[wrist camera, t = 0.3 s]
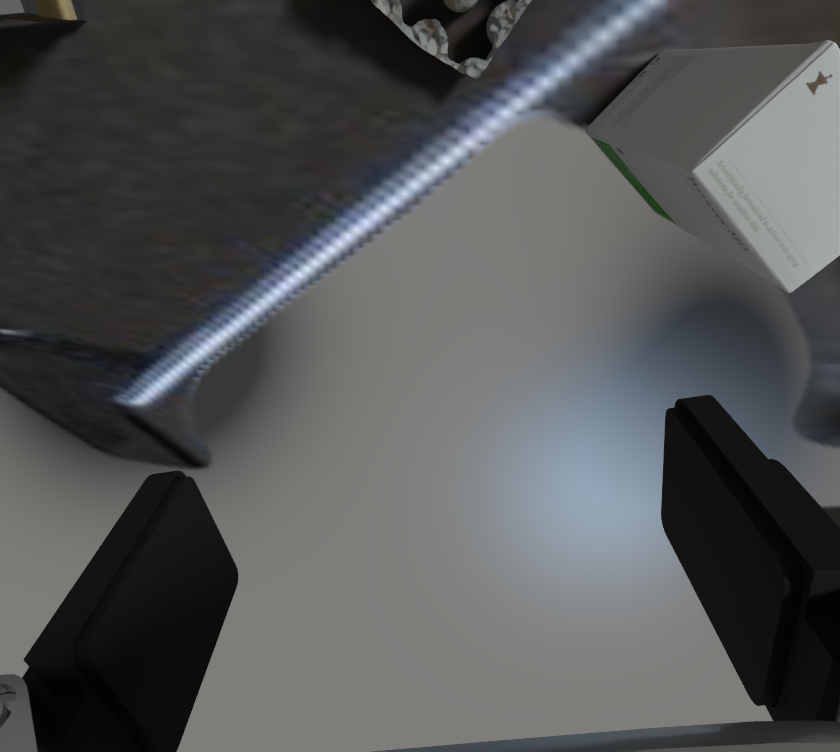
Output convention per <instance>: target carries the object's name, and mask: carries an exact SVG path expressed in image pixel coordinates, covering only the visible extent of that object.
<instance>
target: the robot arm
mask: <svg viewBox="0 0 840 752" xmlns="http://www.w3.org/2000/svg"><path fill="white" fill-rule="evenodd" d="M661 518H662V524H663V528H664V531H665V533H666V535H667V537H668V539H669V541H670V543H671V545H672V547H673V549H674V551H675V553H676V555H677V557H678V559H679V561H680V563H681V564H682V567H683V569H684V570H685V572H686V574H687V576H688V578H689V580H690V582H691V584H692V586H693V588H694V590H695V592H696V594H697V596H698V598H699V600H700V601H701V604H702V606H703V607H704V609H705V611H706V613H707V615H708V617H709V619H710V621H711V623H712V625H713V627H714V629H715V631H716V633H717V635H718V637H719V639H720V641H721V642H722V644H723V646H724V648H725V650H726V652H727V654H728V656H729V658H730V660H731V662H732V664H733V666H734V668H735V670H736V672H737V674H738V676H739V677H740V680H741V681H742V683H743V685H744V687H745V689H746V691H747V693H748V695H749V697H750V698H751V700H752V701H753V702H754V704H756V705H757V706H761V705H765V706H766V708H767V710H768V711H769V713H770V715H771V717H772V719H773V721H760V722H759V721H755V722H740V723H724V724H709V725H693V726H678V727H664V728H663V727H662V728H647V729H635V730H622V731H610V732H598V733H586V734H574V735H562V736H550V737H539V738H525V739H514V740H501V741H489V742H479V743H466V744H454V745H443V746H432V747H420V748H409V749H397V750H386V751H375V752H840V528H839V526H838V525H837V524H836V523H835V522H834V521H833V520H832V519H831V518H830V516H829V515H828V514H827V513H826V512H825V511H824V510H823V509H822V508H821V506H820V505H819V504H818V503H817V502H816V501H815V500H814V499H813V497H811V495H810V494H809V493H808V492H807V491H806V490H805V489H804V487H803V486H802V485H801V484H800V483H799V482H798V481H797V480H796V479H795V478H794V476H793V475H792V474H791V473H790V472H789V471H788V470H787V469H786V468H785V467H784V466H783V465H782V464H781V463H780V462H779V461H776V460H774V459H767V458H766V456H765V455H764V454H763V453H762V452H761V451H760V450H759V449H758V447H757V446H756V445H755V444H754V443H753V442H752V441H751V439H750V438H749V437H748V436H747V435H746V433H745V432H744V431H743V430H742V429H741V428H740V427H739V425H738V424H737V423H736V422H735V421H734V420H733V419H732V417H731V416H730V415H729V414H728V413H727V412H726V410H724V408H723V407H722V406H721V405H720V404H719V402H718V401H717V400H716V399H715V398H714V397H713V396H711V395H705V396H698V397H691V398H684V399H678V400H677V401H676V403H675V408H669V409H667V411H666V416H665V440H664V463H663V485H662V507H661ZM237 583H238V571H237V567H236V565H235V563H234V561H233V558H232V557H231V554H230V552H229V550H228V548H227V546H226V544H225V542H224V540H223V538H222V536H221V534H220V532H219V530H218V528H217V526H216V524H215V522H214V520H213V518H212V515H211V513H210V511H209V509H208V507H207V505H206V503H205V501H204V499H203V497H202V495H201V493H200V491H199V489H198V487H197V485H196V483H195V481H194V479H193V478H191V477H186V476H185V474H184V473H183V472H181V471H172V472H165V473H158V474H152V475H150V476H149V477H148V478H147V479H146V480H145V481H144V483H143V484H142V486H141V487H140V489H139V490H138V492H137V493H136V495H135V496H134V497H133V499H132V500H131V502H130V503H129V505H128V506H127V508H126V509H125V511H124V512H123V514H122V515H121V517H120V518H119V520H118V521H117V523H116V524H115V525H114V527H113V528H112V530H111V531H110V533H109V534H108V536H107V537H106V539H105V540H104V542H103V543H102V545H101V546H100V548H99V549H98V551H97V552H96V554H95V555H94V557H93V558H92V560H91V561H90V562H89V564H88V565H87V567H86V568H85V570H84V571H83V573H82V574H81V576H80V577H79V579H78V580H77V582H76V583H75V585H74V586H73V588H72V589H71V590H70V592H69V593H68V595H67V596H66V598H65V599H64V601H63V602H62V604H61V605H60V607H59V608H58V610H57V611H56V613H55V614H54V616H53V617H52V619H51V620H50V621H49V623H48V624H47V626H46V627H45V629H44V630H43V632H42V633H41V635H40V636H39V638H38V639H37V641H36V642H35V643H34V645H33V646H32V648H31V649H30V651H29V653H28V654H27V655H26V657H25V658H24V661H25V662H26V663H27V664H28V666H29V668H28V670H27V672H26V673H25V675H24V676H23V677H22V678H20V677H19V676H17V675H0V752H176V751H177V749H178V747H179V744H180V741H181V739H182V736H183V733H184V730H185V727H186V725H187V722H188V719H189V717H190V714H191V711H192V708H193V705H194V703H195V700H196V697H197V695H198V692H199V689H200V686H201V684H202V681H203V678H204V675H205V673H206V670H207V667H208V664H209V661H210V659H211V656H212V653H213V651H214V648H215V645H216V642H217V639H218V637H219V634H220V631H221V628H222V626H223V623H224V620H225V617H226V615H227V612H228V609H229V606H230V604H231V601H232V598H233V595H234V593H235V590H236V587H237Z"/></svg>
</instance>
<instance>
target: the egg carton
mask: <svg viewBox="0 0 840 752" xmlns="http://www.w3.org/2000/svg"><path fill="white" fill-rule="evenodd" d="M477 1H478V0H443V2H444V4H445V5H446V6H447V7H448V8H449V9H450V10H452V11H454V12H461V13H462V12H465V11H467V10H469V9H471V8H472V7H473V6H475V4H476V2H477ZM531 1H532V0H507V1H505V2H503V3H501V4H499V5H498V6H497V7H495V9H494V10H493V11H492V12H491V14H490V15H489V17H488V21H487V27H486V31H487V36H488V38H489V40H490V42H491V43H492V45H493V46H492V50H491V52H490V53H489V55H488V56H487V58H486V59H485V60H483V59H480V58H469V59H466V60H465V61H463V62H462V63H460V64H457V63H455V62H453V61H451V60H450V59H449V58H448V57H447V55H448V52H447V50H448V38H447V35H446V32H445V30H444V28H443V27H442V26H441V24H440V22H439V21H437V20H436V19H427V20H421V21H419V22H417V23H416V24H415V25H414V26H413V27H410V26H408V25H406V24H405V23H404V22H403V19H402V8H401V4H400V1H399V0H371V2H372V3H373V4H374V5H375V6H376V7H377V8H378V9H380V10H381V11H382V12H383V13H384V14H385V15H386V16H387V17H389V18H390V19H391V20H392V21H393V22H394V23H395V24H396V25H397V26H398V27H399V28H400V29H401V30H402V31H403V32H404V33H405V34H406V35H407V36H408V37H409V38H410V39H411V40H412V41H413V42H414V43H416V44H417V45H418V46H419V47H420V48H422V49H423V50H425V51H427V52H428V53H430V54H431V55H433V56H435V57H436V58H438V59H439V60H441V61H443V62H444V63H446V64H448V65H450V66H452V67H453V68H455V69H456V70H457V71H459V72H460V73H462V74H467V75H469V76H471V77H473V78H474V79H478V78H479V77H480V75H481V74H482V72H483V71H484V70H485V69H486V67H487V66H488V64H489V63H490V62H491V60H492V58H493V57H494V55H495V54H496V52H497V50H498V48H499V46H500V45H501V44H502V43H503V41H504V40H505V39H506V37H507V36H508V34H509V33H510V31H511V30H512V28H513V26H514V25H515V23H516V22H517V21H518V19H519V18H520V16H521V15H522V13H523V12H524V10H525V8H526V7H527V5H528V4H529V3H530V2H531ZM473 8H474V7H473Z"/></svg>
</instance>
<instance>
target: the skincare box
mask: <svg viewBox="0 0 840 752" xmlns="http://www.w3.org/2000/svg"><path fill="white" fill-rule="evenodd" d="M586 133H587V134H588V135H589V136H590V137H591V139H592V140H593V141H594V142H595V143H596V144H597V145H598V147H599V148H600V149H601V150H602V151H603V153H604V154H605V155H606V156H607V158H609V160H610V161H611V162H612V163H613V164H614V166H615V167H616V168H617V169H618V170H619V171H620V172H621V173H622V174H623V175H624V177H625V178H626V179H627V180H628V181H629V183H630V184H631V185H632V186H633V187H634V188H635V189H636V190H637V192H638V193H639V194H640V195H641V196H642V197H643V199H644V200H645V201H646V202H647V204H648V205H649V206H650V207H651V208H652V209H653V211H654V212H655V213H657V214H658V215H660V216H661V217H663V218H665V219H666V220H668V221H670V222H672V223H673V224H675V225H677V226H679V227H680V228H682V229H684V230H685V231H687V232H689V233H690V234H692V235H693V236H695V237H697V238H698V239H700V240H702V241H704V242H705V243H707V244H709V245H710V246H712V247H714V248H715V249H717V250H719V251H720V252H722V253H724V254H725V255H727V256H729V257H730V258H732V259H734V260H735V261H737V262H739V263H741V264H742V265H744V266H745V267H747V268H749V269H751V270H752V271H754V272H756V273H758V274H759V275H761V276H763V277H764V278H766V279H768V280H769V281H771V282H773V283H774V284H776V285H778V286H779V287H781V288H782V289H784V290H785V291H786V292H787V293H791V292H792V291H794V290H795V289H796V288H798V287H799V286H800V285H802V284H803V283H804V282H806V281H807V280H808V279H810V278H811V277H812V276H814V275H815V274H816V273H817V272H819V271H820V270H821V269H823V268H824V267H825V266H826V265H828V264H829V263H830V262H831V261H833V260H834V259H835V258H837V257H838V256H839V255H840V49H839V48H838V46H837V44H836V43H835V42H832V41H829V40H826V41H822V42H818V43H809V44H795V45H773V46H751V47H733V48H713V49H692V50H667V51H662V52H660V53H659V54H658V56H657V57H656V58H655V59H654V60H653V61H652V62H651V63H650V64H649V65H648V66H647V67H646V68H645V69H644V70H643V71H642V72H641V73H640V74H639V75H638V76H637V77H636V78H635V79H634V80H633V81H632V82H631V83H630V84H629V85H628V86H627V87H626V88H625V89H624V90H623V91H622V92H621V93H620V94H619V95H618V96H617V97H616V98H615V99H614V100H613V101H612V102H611V103H610V104H609V105H608V106H607V107H606V108H605V109H604V110H603V111H602V113H601V114H600V115H599V116H598V117H597V118H596V119H595V120H594V121H593V122H592V123H591V124H590V125H589V126H588V127H587V128H586Z"/></svg>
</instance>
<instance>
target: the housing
mask: <svg viewBox="0 0 840 752" xmlns="http://www.w3.org/2000/svg"><path fill="white" fill-rule="evenodd" d="M80 21H87V18H86V15H85V12H84V9H83V6H82V2H81V0H0V29H6V28H17V27H27V26H38V25H49V24H59V23H70V22H80Z"/></svg>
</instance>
